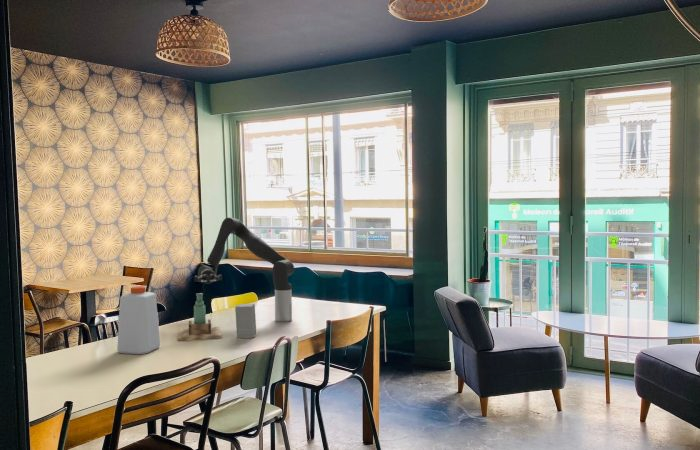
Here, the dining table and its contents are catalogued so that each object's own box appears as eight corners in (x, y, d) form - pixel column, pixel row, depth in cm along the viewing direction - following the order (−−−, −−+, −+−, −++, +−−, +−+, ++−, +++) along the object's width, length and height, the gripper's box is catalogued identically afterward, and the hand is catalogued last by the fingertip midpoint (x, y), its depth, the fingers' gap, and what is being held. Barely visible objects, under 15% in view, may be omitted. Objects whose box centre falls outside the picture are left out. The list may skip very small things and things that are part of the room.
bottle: (206, 330, 271) (206, 292, 270) (204, 333, 266) (204, 294, 265) (195, 330, 271) (194, 292, 270) (193, 333, 265) (192, 294, 264)
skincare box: (256, 335, 267) (256, 303, 267) (252, 338, 260) (252, 306, 260) (239, 334, 268) (239, 303, 268) (235, 338, 261) (234, 305, 260)
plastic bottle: (144, 355, 232) (143, 290, 231) (113, 353, 235) (111, 289, 234) (163, 346, 247) (162, 285, 246) (133, 344, 250) (132, 284, 249)
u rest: (220, 329, 279) (220, 317, 279) (221, 338, 262) (221, 324, 262) (179, 332, 274) (179, 319, 274) (178, 340, 257) (177, 327, 256)
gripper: (194, 270, 300) (194, 273, 284) (220, 268, 304) (222, 271, 288) (194, 283, 300) (194, 287, 285) (221, 282, 304) (222, 285, 288)
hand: (208, 279), depth 286 cm, fingers open, 8 cm apart
